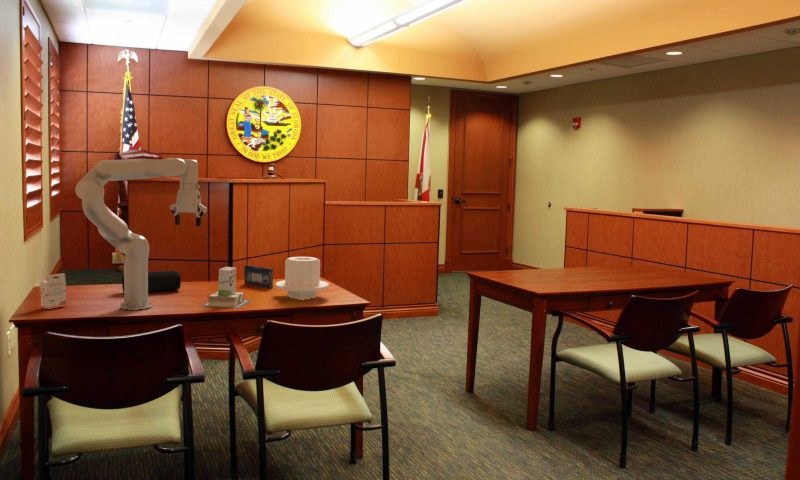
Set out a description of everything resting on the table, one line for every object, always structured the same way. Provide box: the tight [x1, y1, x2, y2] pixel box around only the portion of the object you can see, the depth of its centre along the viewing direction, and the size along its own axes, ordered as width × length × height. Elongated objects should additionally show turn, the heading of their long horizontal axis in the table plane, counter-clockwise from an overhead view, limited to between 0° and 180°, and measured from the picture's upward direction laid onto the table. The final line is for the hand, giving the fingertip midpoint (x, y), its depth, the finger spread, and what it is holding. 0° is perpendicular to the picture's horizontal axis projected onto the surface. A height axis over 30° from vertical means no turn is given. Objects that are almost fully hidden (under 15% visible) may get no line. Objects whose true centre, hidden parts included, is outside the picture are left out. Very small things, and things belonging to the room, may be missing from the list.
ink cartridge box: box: [40, 272, 67, 307], centre depth 285 cm, size 9×5×15 cm, turn 148°
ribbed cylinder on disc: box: [275, 256, 330, 301], centre depth 322 cm, size 25×25×19 cm
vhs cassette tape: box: [243, 264, 274, 290], centre depth 348 cm, size 18×3×10 cm, turn 55°
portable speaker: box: [121, 270, 182, 293], centre depth 325 cm, size 26×10×10 cm, turn 120°
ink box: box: [217, 266, 237, 296], centre depth 300 cm, size 9×5×12 cm, turn 171°
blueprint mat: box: [200, 299, 253, 309], centre depth 301 cm, size 18×18×1 cm
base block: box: [208, 291, 245, 307], centre depth 301 cm, size 12×12×4 cm
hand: (187, 225), depth 302 cm, fingers open, 9 cm apart
